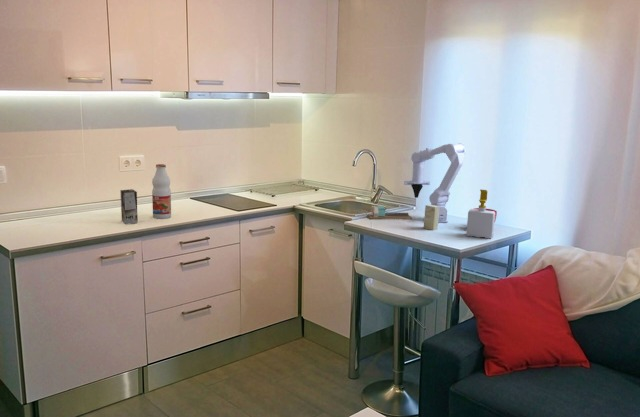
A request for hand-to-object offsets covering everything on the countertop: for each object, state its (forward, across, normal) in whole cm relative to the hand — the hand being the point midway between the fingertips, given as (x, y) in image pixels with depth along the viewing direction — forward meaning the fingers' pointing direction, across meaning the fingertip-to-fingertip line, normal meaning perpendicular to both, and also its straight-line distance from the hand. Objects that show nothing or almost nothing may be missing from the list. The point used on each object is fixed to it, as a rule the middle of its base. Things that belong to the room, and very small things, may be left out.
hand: (416, 197), depth 332 cm
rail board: (+10, +17, +5) cm, 21 cm away
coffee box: (+11, +155, +10) cm, 156 cm away
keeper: (+9, +22, +5) cm, 24 cm away
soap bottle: (+11, -16, +50) cm, 54 cm away
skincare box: (+11, +3, +33) cm, 35 cm away
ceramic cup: (+11, -24, +34) cm, 43 cm away
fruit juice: (+11, +140, -1) cm, 140 cm away
